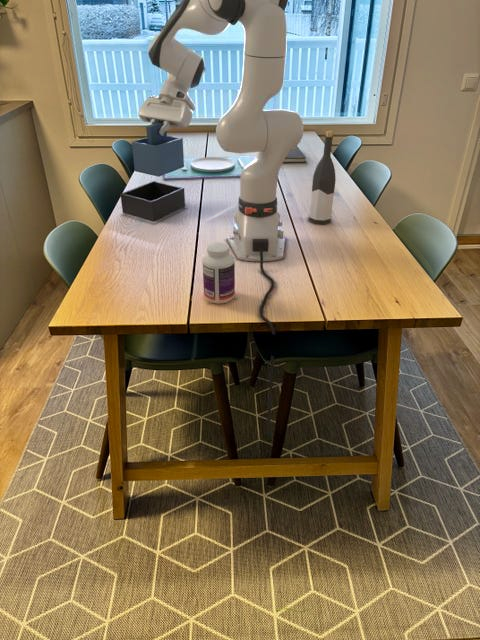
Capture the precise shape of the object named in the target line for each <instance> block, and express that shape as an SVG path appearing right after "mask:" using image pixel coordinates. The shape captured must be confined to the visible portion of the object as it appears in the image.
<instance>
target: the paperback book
mask: <svg viewBox="0 0 480 640" xmlns="http://www.w3.org/2000/svg"><path fill="white" fill-rule="evenodd" d="M306 159H307V157H306V155H305V154H304V153H303V152H302V150H301V149H300V147H299V146H298V145H297V146H296V147H294V148H293V149H292V150H291V151H290V152H289V154H288V155H287V156H286V158H285V159H284V161H283V163H282V164H301V163H307V160H306Z"/></svg>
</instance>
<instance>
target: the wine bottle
mask: <svg viewBox="0 0 480 640" xmlns="http://www.w3.org/2000/svg"><path fill="white" fill-rule="evenodd" d="M333 134H334V132H333V131H332V130H327V131H326V133H325V136H324V146H323V155H322V156H321V158H320V160H319V161H318V163H317V165H316V167H315V169H314V172H313V175H312V184H311V185H312V186H311V194H310V205H309V214H308V221H309V223H312V224H314V225H326V224H330V223H331V219H332V212H333V204H334V195H335V189H336V187H335V186H336V181H337V179H336V178H337V177H336V169H335V165H334V161H333V159H332V155H331V154H332V147H333V146H332V145H333V138H334V135H333Z"/></svg>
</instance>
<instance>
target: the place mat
mask: <svg viewBox="0 0 480 640" xmlns="http://www.w3.org/2000/svg"><path fill="white" fill-rule="evenodd" d="M255 158H256V156H255V155H247V156H246V155H244V156H207V157H184V167H183V168H180V169H177V170H175V171H172V172H170V173H167V174H165V175H163V176H164V181H175V180H176V181H179V180H204V179H205V180H206V179H207V180H208V179H231V178H233V179H234V178H240V175H241V172H242V170H243V169H244V167H245V166H247V165H248V164H250V163H251V162H252V161H253V160H254V159H255Z"/></svg>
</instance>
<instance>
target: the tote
mask: <svg viewBox="0 0 480 640" xmlns="http://www.w3.org/2000/svg"><path fill="white" fill-rule="evenodd" d="M119 196H120V202H121V209H122V214H125V215H127V216H128V215H129V216H132V217H135V218H139V219H142V220H146V221H149V222H153V223H155V222H156V221H159V220H161V219H163V218H165V217H167V216H169V215H171V214H173V213H175V212H178V211H180V210H181V209H184V208H185V207H186V193H185V188H184V187H181V186H176V185H174V184H169V183H165V182H160V181H156V180H152V181H149V182H147V183H145V184H142V185H139V186H137V187H134V188H131V189H129V190H127V191H124V192H121V193H119Z"/></svg>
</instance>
